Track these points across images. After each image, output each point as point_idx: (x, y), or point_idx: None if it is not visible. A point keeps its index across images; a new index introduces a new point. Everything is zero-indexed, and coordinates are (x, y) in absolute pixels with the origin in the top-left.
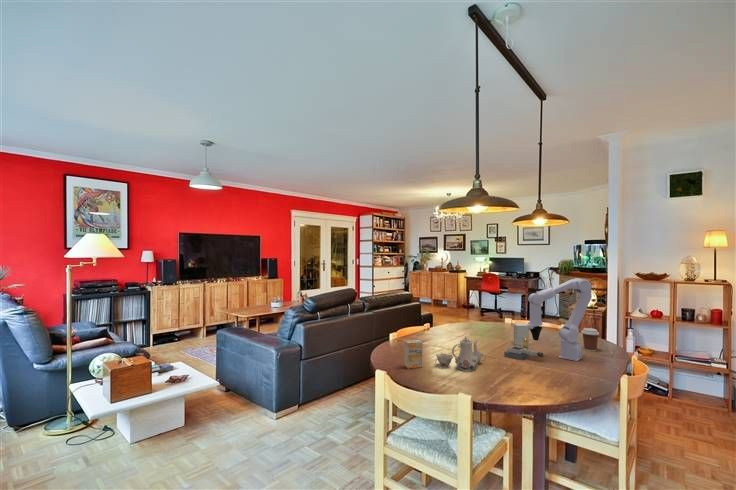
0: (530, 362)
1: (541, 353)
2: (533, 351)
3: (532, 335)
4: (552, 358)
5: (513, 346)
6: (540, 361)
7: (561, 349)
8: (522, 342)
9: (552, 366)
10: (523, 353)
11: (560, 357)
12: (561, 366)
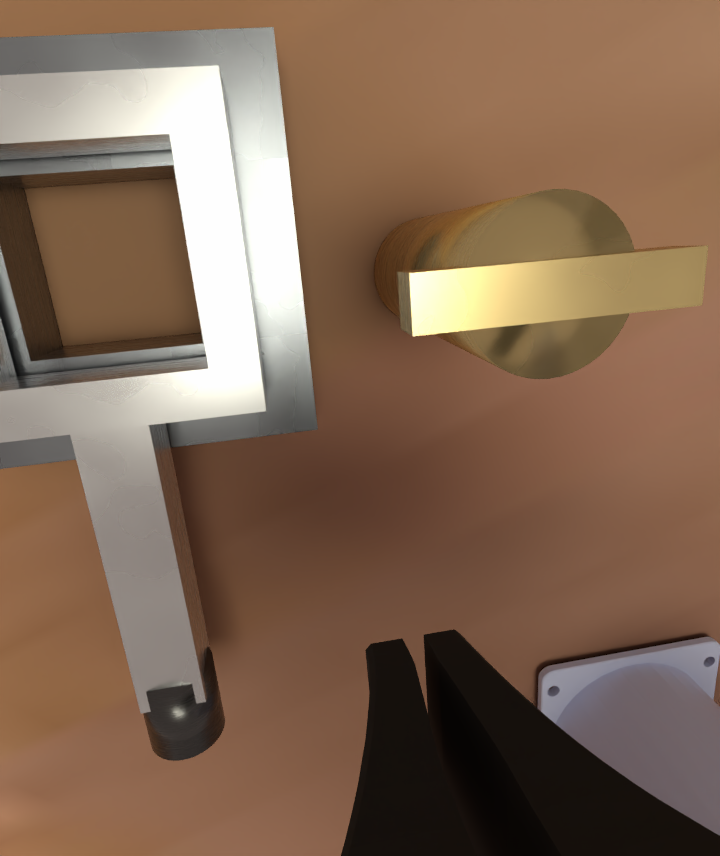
0: (10, 575)
1: (157, 748)
2: (150, 618)
3: (368, 746)
4: None
5: (153, 110)
6: None
7: (637, 771)
8: (453, 222)
9: (116, 801)
10: None
11: (540, 694)
12: (210, 843)
